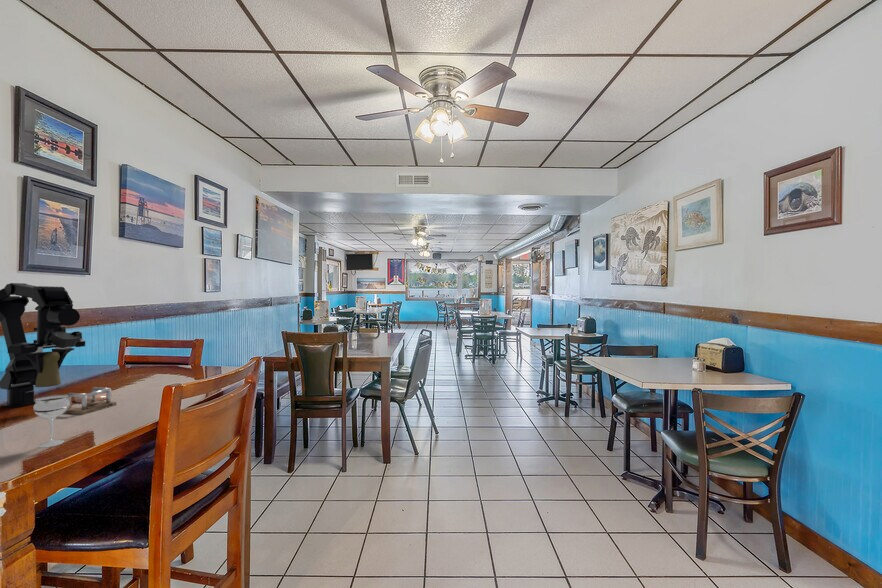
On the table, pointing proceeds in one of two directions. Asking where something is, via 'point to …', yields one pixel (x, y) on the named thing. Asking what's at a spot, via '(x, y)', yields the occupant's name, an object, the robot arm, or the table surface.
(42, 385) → the olive green tapered cylinder
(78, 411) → the base
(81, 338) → the robot arm
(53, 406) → the wineglass
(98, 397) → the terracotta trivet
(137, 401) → the table surface
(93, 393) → the silver twin cylinder holder
